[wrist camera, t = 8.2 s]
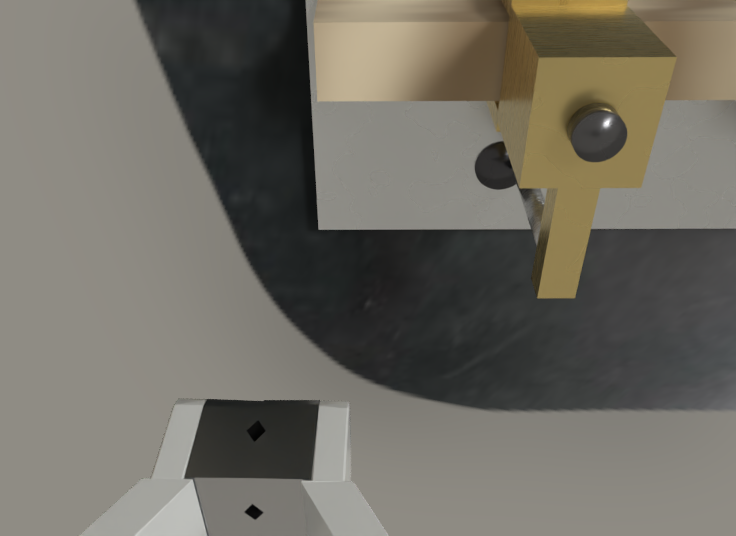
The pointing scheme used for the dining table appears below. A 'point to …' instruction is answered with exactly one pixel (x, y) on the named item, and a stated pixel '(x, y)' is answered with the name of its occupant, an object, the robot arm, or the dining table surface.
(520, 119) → the sliding leg
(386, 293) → the dining table surface
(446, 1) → the trammel beam
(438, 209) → the flange plate
